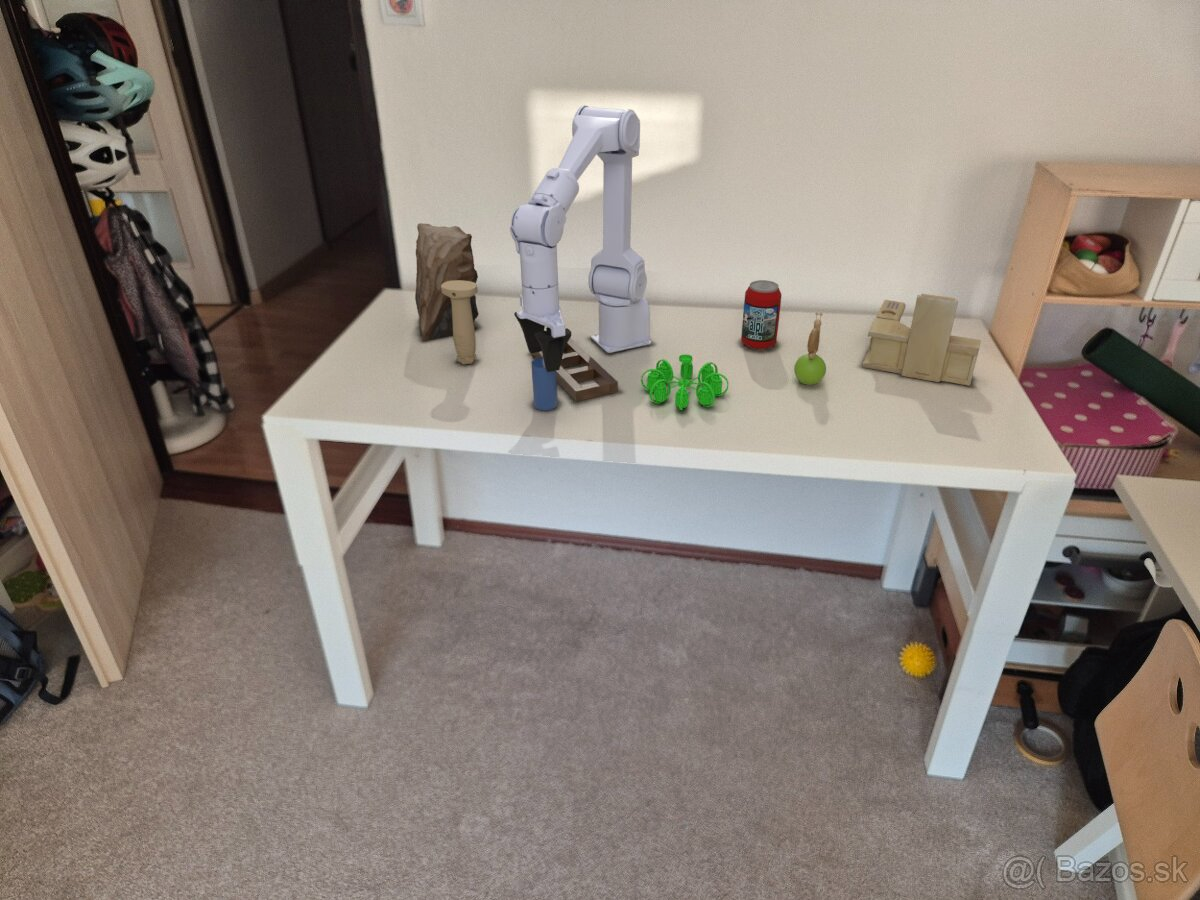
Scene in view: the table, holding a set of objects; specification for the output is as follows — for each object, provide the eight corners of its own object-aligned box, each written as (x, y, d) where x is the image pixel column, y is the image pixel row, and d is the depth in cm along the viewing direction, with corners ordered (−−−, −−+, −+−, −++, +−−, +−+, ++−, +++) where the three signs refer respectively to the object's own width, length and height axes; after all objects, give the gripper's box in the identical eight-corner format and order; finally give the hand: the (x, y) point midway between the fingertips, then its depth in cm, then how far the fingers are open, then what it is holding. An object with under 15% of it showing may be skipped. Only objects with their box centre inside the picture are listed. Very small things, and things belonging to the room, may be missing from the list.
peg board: (570, 346, 162) (570, 337, 161) (618, 392, 146) (618, 381, 145) (531, 354, 159) (531, 344, 158) (576, 401, 143) (575, 391, 142)
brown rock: (417, 316, 175) (405, 222, 164) (478, 311, 177) (469, 217, 166) (420, 341, 164) (406, 242, 154) (484, 335, 167) (475, 236, 156)
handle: (477, 369, 154) (470, 292, 146) (445, 365, 156) (436, 288, 148) (487, 358, 158) (481, 282, 150) (456, 354, 159) (448, 279, 151)
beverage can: (736, 348, 160) (741, 289, 154) (745, 334, 166) (750, 277, 159) (771, 354, 158) (778, 294, 152) (779, 340, 163) (785, 281, 157)
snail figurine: (826, 376, 150) (835, 313, 144) (822, 392, 145) (831, 328, 139) (795, 371, 152) (803, 309, 145) (790, 387, 147) (798, 324, 140)
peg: (552, 397, 144) (550, 355, 140) (561, 407, 141) (559, 364, 137) (530, 402, 143) (527, 360, 139) (539, 412, 140) (536, 369, 136)
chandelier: (645, 371, 152) (646, 336, 149) (728, 376, 150) (731, 341, 147) (635, 411, 140) (636, 374, 136) (725, 417, 138) (729, 380, 134)
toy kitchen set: (977, 350, 158) (996, 274, 150) (969, 388, 146) (990, 307, 138) (877, 334, 165) (890, 260, 157) (861, 368, 152) (874, 290, 144)
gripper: (500, 272, 135) (506, 348, 142) (533, 302, 124) (537, 384, 131) (540, 265, 138) (544, 340, 145) (576, 294, 126) (578, 374, 134)
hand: (544, 360), depth 138 cm, fingers open, 7 cm apart
